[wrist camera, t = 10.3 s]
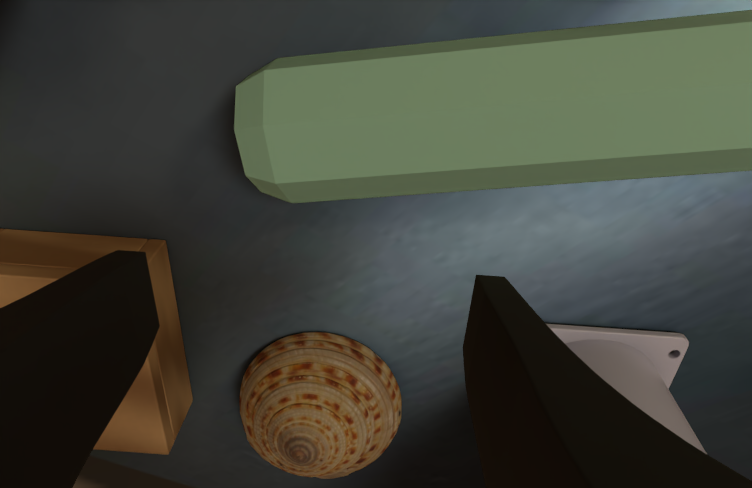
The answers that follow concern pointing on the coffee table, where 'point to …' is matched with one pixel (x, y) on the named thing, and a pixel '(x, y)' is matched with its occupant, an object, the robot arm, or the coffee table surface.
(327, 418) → the seashell
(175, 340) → the wooden box
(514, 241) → the coffee table surface
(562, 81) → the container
